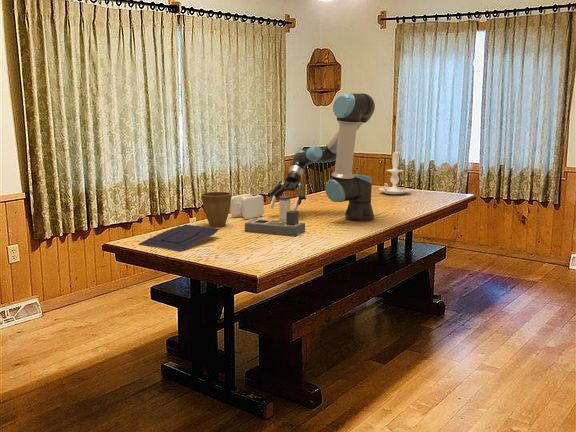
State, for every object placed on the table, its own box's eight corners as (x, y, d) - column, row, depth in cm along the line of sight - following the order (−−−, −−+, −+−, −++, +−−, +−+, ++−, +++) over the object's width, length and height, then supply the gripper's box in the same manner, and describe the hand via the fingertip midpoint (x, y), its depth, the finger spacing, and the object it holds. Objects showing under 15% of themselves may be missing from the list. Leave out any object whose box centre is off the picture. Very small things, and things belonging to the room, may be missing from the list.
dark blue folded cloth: (224, 235, 278) (223, 227, 277) (181, 257, 254) (180, 249, 253) (183, 229, 291) (182, 222, 290) (138, 250, 266) (137, 242, 265)
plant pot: (235, 223, 310) (235, 191, 307) (226, 229, 296) (225, 196, 293) (208, 221, 313) (207, 190, 310) (197, 227, 299) (196, 195, 296)
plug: (290, 218, 321) (290, 196, 319) (286, 220, 316) (286, 197, 314) (283, 218, 323) (283, 195, 320) (279, 220, 318) (279, 197, 316)
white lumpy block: (243, 220, 317) (243, 198, 315) (229, 217, 324) (229, 196, 322) (264, 216, 328) (263, 195, 325) (250, 213, 335) (250, 192, 332)
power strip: (305, 231, 292) (305, 210, 290) (295, 236, 281) (295, 214, 279) (255, 226, 302) (255, 206, 300) (244, 231, 291) (244, 210, 289)
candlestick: (369, 195, 397) (370, 152, 392) (387, 190, 417) (388, 149, 411) (398, 198, 385) (400, 153, 380) (415, 193, 405) (417, 150, 399)
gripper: (318, 181, 327) (307, 214, 316) (275, 178, 336) (263, 210, 326) (314, 172, 321) (303, 205, 310) (271, 170, 330) (259, 202, 320)
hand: (283, 208), depth 318 cm, fingers open, 13 cm apart
